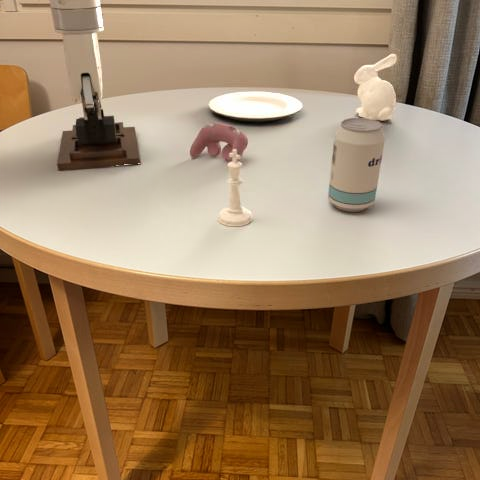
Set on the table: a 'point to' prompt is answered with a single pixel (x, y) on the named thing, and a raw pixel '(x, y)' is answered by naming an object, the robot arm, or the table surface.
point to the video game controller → (212, 138)
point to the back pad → (108, 125)
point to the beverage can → (356, 164)
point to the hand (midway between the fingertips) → (97, 136)
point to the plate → (255, 106)
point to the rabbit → (375, 91)
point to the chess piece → (234, 197)
